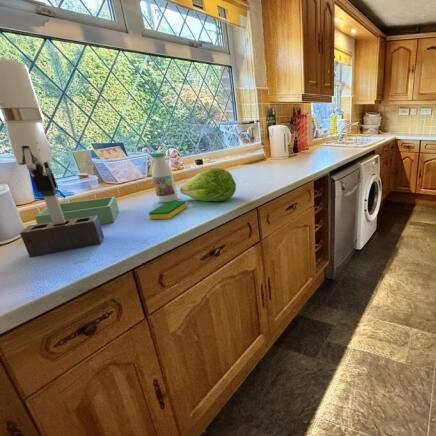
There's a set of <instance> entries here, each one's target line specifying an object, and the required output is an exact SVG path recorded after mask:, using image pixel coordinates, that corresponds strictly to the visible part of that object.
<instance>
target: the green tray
mask: <svg viewBox="0 0 436 436" xmlns="http://www.w3.org/2000/svg"><path fill="white" fill-rule="evenodd" d="M59 204H60V207H61V210H62V213H63V216H64V218H65V220H69V219H76V218H82V217H89V216H96V215H97V216H98V219H99V222H100V225H104V224H110V223H111V224H112V223H115V221H116V220H117V218H118V217H117V216H118V214H119V212H120V209H119V206H118V201H117V198H116V196H107V197H99V198H93V199H84V200H77V201H70V202H69V201H68V202H62V203H59ZM34 219H35V221H36V224H42V223H49V222H52V219H51V216H50V213H49V211H48V208H47V206H46V207H45V208H43V209H42V210H41V211H40V212H39V213H37V214H36V215H35V216H34Z"/></svg>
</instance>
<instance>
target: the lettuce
mask: <svg viewBox="0 0 436 436" xmlns="http://www.w3.org/2000/svg"><path fill="white" fill-rule="evenodd" d="M236 190H237V184H236V181H235V179H234V177H233V175H232V174H231V173H230V171H228V170H226V169H223V168H220V167H215V168H209V169H207V170H203V171H200V172H198V173H197V174H195V175H193V176H191V177H189V178H188V179H187V180H186V181H185V182H184V183H183V184H182V185H181V186H180V189H179V191H180V194H183V195H185V196H187V197H189V198H191V199H193V200H196V201H197V200H199V201H202V202H225V201H227V200H228V199H230V198H232V197H233V196H234V194H235V193H236Z"/></svg>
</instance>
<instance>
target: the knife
mask: <svg viewBox="0 0 436 436" xmlns="http://www.w3.org/2000/svg"><path fill="white" fill-rule="evenodd" d="M45 169H46V172H47V175H49V176H50V179H51V182H52V185H53V188H54V190H53V191H45V192H40V195H41V197H43V199H44V202H45V205H46V207H47V208H48V211H49V213H50V216H51V219H52V222H53V225H54V224H61V223H65V222H66V221H65V218H64V216H63V213H62V210H61V207H60V204H61V203H60V202H59V201H60V200H59V198H58V196H57V194H58V191H57V188H55V185H54V182H53V179H52V176H51V173H50V171H49V168H45Z"/></svg>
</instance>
